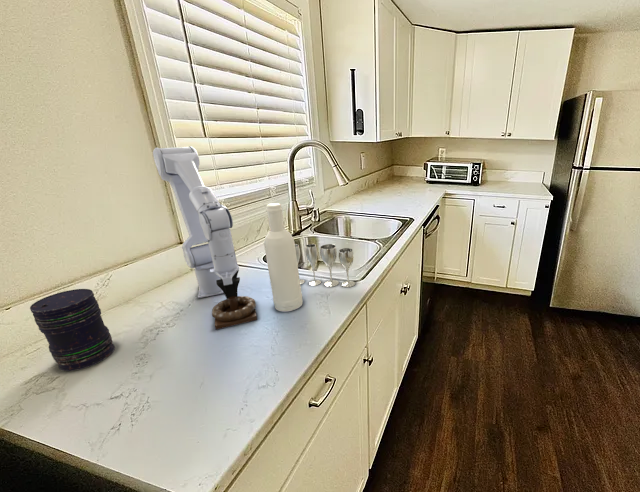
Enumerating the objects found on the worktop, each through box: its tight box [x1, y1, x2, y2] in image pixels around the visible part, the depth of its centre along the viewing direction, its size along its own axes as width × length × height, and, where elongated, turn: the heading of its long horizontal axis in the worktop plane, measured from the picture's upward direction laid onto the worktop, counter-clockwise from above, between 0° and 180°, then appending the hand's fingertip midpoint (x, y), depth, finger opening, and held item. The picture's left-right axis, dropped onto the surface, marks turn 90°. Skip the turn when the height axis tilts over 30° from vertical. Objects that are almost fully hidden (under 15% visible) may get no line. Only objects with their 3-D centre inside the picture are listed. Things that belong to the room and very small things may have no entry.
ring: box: [211, 295, 257, 321], centre depth 89 cm, size 11×11×2 cm
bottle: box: [263, 202, 304, 313], centre depth 90 cm, size 8×8×30 cm
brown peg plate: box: [214, 296, 258, 331], centre depth 89 cm, size 10×10×6 cm
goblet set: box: [295, 243, 356, 288], centre depth 106 cm, size 28×6×13 cm, turn 84°
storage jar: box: [29, 288, 116, 372], centre depth 72 cm, size 10×10×15 cm
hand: (232, 297), depth 92 cm, fingers open, 5 cm apart
